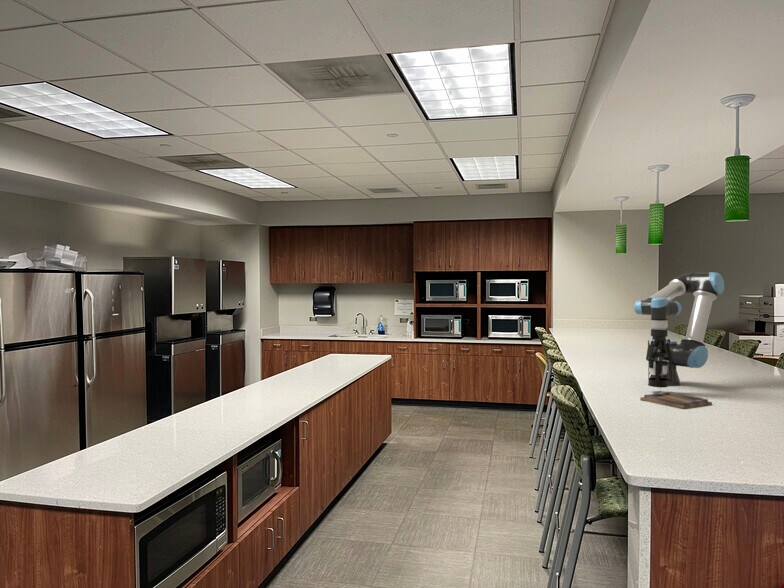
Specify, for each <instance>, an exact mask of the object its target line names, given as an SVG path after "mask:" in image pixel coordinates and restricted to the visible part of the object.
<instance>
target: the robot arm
mask: <svg viewBox="0 0 784 588" xmlns="http://www.w3.org/2000/svg"><path fill="white" fill-rule="evenodd" d="M724 291H725V282H724V278H723V276H722V274H720V273H719V272H715V271H714V272H712V271H710V272H688V273H684V274H681V275H680V276H677V277H675V278H674V279H672V280H671V281H669V283H668V284H667V285H666V286H665V287H663V288H662V289H660V290H658V291H657V292H656V293H654V294H652V295H651V296H649V297H648V298H646V299H644V300H643V299H641V300H639V299H638V300H636V301H635V303H634V305H633V308H634V312H635V313H636V314H637V315H642V316H644V315H645V316H650V328H651V329H650V337H652V339H651V340H648V341H647V350H646V357H645V360H646V361H648V362H649V372H650V374H649V378H655V362H654V361H658V357H656V354H655V353H657V351H658V349H659V351H664V352H668V354H667V357H659V361H666V362H668V363H672V364H673V370H672V381H668V385H669V386H671V387H672V386H680V384H681V379H680V377H679V374H678V371H677V367H683V368H684V367H685V368H691V369H694V368H695V369H699V368H702V367H704V365H706V362H707V361H708V358H709V350H708V348H707V347H706V344H705V342H704V339H705V335H706V331H707V328H708V327H707V326H708V321H709V317H710V314H711V311H712V306H713V301H715V300H717V298H718V295H722V294H723V293H724ZM686 294H692V295H693V296H694V300H693V306H692V309H691V312H690V316H689V321H688V324H687V325H688V326H687V329H686V332H685V337H684V338H682V339H681V341H680V343H678V342H677V340H671V339H668V338H667V337H668V327H669V326H668V317H675V316H678V315H680V314H681V312H682V310H683V308H682V304H681V302H678V301H676V300H673V299H675V298H676V297H681V296H683V295H686ZM660 340H662V341H660ZM661 372H665V373H667V366H661ZM661 378H665V379H667V375H661ZM668 380H671V364H668ZM669 386H668V387H669Z"/></svg>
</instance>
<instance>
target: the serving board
mask: <svg viewBox="0 0 784 588" xmlns="http://www.w3.org/2000/svg"><path fill="white" fill-rule="evenodd" d="M640 401H644V402H647V403H648V402H649V403H653V404H658V405H662V406H666V407H672V408H675V409H676V408H677V409H681V410H686V409H693V408H699V407H706V406H707V407H708V406H712V405H713V402H712V401H709V399H707V398H702V397H698V396H691V395H686V394H681V393H676V392H672V391H666V392H665V391H664V392H656V393H650V394H644V396H643V397H642V396H640Z"/></svg>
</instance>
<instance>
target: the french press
mask: <svg viewBox="0 0 784 588" xmlns="http://www.w3.org/2000/svg"><path fill="white" fill-rule="evenodd" d="M660 341H662V340H660ZM655 354H656V357H658V361H654V362H655V378H650V375H651V374H650V368H649V361H648V380H647V383H648V384H647V386H648V387H652V388H668V387H669V385H668V381H672V370H673V364H672V363H668V362H666V361H659V357H667V354H668V352H664V351H659V349H658V351H657V353H655ZM668 364H671V380H668ZM661 366H667V373H665V372H661ZM661 375H667V379H665V378H661Z"/></svg>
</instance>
